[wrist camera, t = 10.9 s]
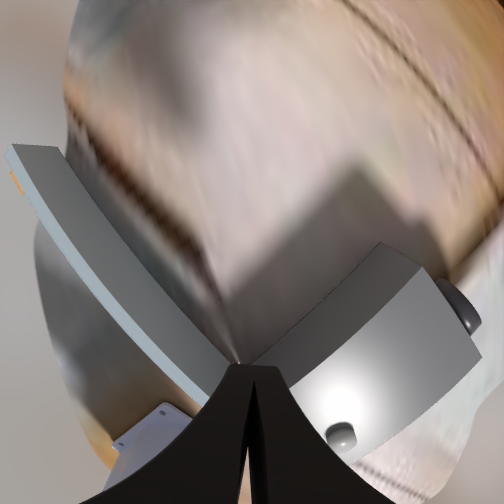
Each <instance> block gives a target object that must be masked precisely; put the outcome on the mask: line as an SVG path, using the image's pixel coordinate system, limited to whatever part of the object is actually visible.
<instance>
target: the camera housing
mask: <svg viewBox="0 0 504 504" xmlns="http://www.w3.org/2000/svg"><path fill="white" fill-rule="evenodd" d="M481 323H482V321H481V318H480V316H479V314H478V313H477V311H476V310H475V308H474V307H473V305H472V304H471V303H470V302H469V300H468V299H467V298H466V297H465V296H464V295H463V294H462V293H461V292H460V291H459V290H458V289H457V288H456V287H455V286H454V285H453V284H451V283H450V282H449V281H447V280H446V279H444V278H442V277H439V278H438V279H437V280H436V281H435V283H434V282H433V280H432V279H431V278H430V276H429V275H428V273H427V272H426V271H425V269H424V268H423V267H422V266H421V265H419V264H417V263H416V262H414V261H412V260H411V259H409V258H407V257H406V256H404V255H402V254H401V253H399V252H397V251H396V250H394V249H392V248H390V247H389V246H387V245H385V244H383V243H382V242H380V243H379V245H378V246H377V247H376V248H375V249H374V250H373V251H372V252H371V253H370V254H369V255H368V256H367V257H366V258H365V259H364V260H363V261H362V262H361V263H360V264H359V265H358V266H357V267H356V268H355V269H354V270H353V271H352V272H351V273H350V274H349V275H348V276H347V277H346V278H345V279H344V280H343V281H342V282H341V283H340V284H339V285H338V286H337V287H336V288H335V289H334V290H333V291H332V292H331V293H330V294H329V295H328V296H327V297H326V298H325V299H323V300H322V301H321V302H320V303H319V304H318V305H317V306H316V307H315V308H314V309H313V310H312V311H311V312H310V313H309V314H307V315H306V316H305V317H304V318H303V319H302V320H301V321H300V322H299V323H298V324H296V325H295V326H294V327H293V328H292V329H291V330H290V331H289V332H288V333H286V334H285V335H284V336H283V337H282V338H281V339H280V340H279V341H277V342H276V343H275V344H274V345H273V346H272V347H270V348H269V349H268V350H267V351H266V352H265V353H263V354H262V355H261V356H260V357H259V358H258V359H256V360H255V361H254V362H253V363H252V364H250V365H260V366H277V367H278V369H279V370H280V372H281V374H282V376H283V378H284V380H285V382H286V384H287V386H288V388H289V390H290V392H291V393H292V395H293V397H294V398H295V400H296V402H297V403H298V405H299V406H300V408H301V409H302V411H303V412H304V414H305V415H306V417H307V418H308V420H309V421H310V423H311V424H312V425H313V427H314V428H315V429H316V431H317V432H318V433H319V434H320V436H321V437H322V438H323V439H324V440H325V442H326V443H327V444H328V445H329V446H330V447H331V449H332V450H333V451H334V452H335V453H336V454H337V455H338V456H339V457H340V458H341V459H342V460H343V461H344V462H345V463H346V464H347V465H348V466H350V465H351V464H353V463H355V462H356V461H358V460H359V459H361V458H363V457H364V456H366V455H367V454H369V453H370V452H372V451H373V450H375V449H376V448H378V447H379V446H381V445H382V444H384V443H385V442H387V441H388V440H389V439H391V438H392V437H394V436H395V435H396V434H398V433H399V432H400V431H402V430H403V429H404V428H406V427H407V426H408V425H410V424H411V423H412V422H413V421H415V420H416V419H417V418H418V417H420V416H421V415H422V414H423V413H425V412H426V411H427V410H428V409H429V408H430V407H432V406H433V405H434V404H435V403H436V402H437V401H439V400H440V399H441V398H442V397H443V396H444V395H445V394H446V393H447V392H448V391H450V390H451V389H452V388H453V387H454V386H455V385H456V384H457V383H458V382H459V381H460V380H461V379H462V378H463V377H464V376H465V375H466V374H467V373H468V372H469V371H470V370H471V369H472V368H473V367H474V366H475V365H476V364H477V363H478V362H479V361H480V359H481V358H482V356H481V354H480V353H479V351H478V349H477V347H476V346H475V344H474V342H473V341H472V339H471V337H470V336H471V335H472V334H473V333H474V332H475V331H476V329H477V328H478V327H479V326H480V325H481Z"/></svg>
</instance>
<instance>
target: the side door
mask: <svg viewBox="0 0 504 504" xmlns="http://www.w3.org/2000/svg"><path fill="white" fill-rule="evenodd" d="M4 156H5V158H6V160H7V162H8V164H9V166H10V168H11V170H12V171H11V172H10V173H11V175H12V177H13V179H14V181H15V183H16V184H17V186H18V188H19V190H20V192H21V193H22V194H25V195H26V197H27V199H28V200H29V202H30V204H31V206H32V207H33V209H34V210H35V212H36V214H37V215H38V217H39V219H40V220H41V222H42V223H43V225H44V226H45V228H46V229H47V231H48V232H49V234H50V235H51V237H52V238H53V240H54V241H55V243H56V244H57V246H58V247H59V249H60V250H61V252H62V253H63V254H64V256H65V257H66V259H67V260H68V261H69V263H70V264H71V266H72V267H73V268H74V270H75V271H76V272H77V274H78V275H79V276H80V278H81V279H82V280H83V281H84V283H85V284H86V285H87V287H88V288H89V289H90V290H91V292H92V293H93V294H94V295H95V297H96V298H97V299H98V300H99V302H100V303H101V304H102V305H103V306H104V308H105V309H106V310H107V311H108V312H109V314H110V315H111V316H112V317H113V318H114V319H115V321H116V322H117V323H118V324H119V325H120V326H121V327H122V328H123V330H124V331H125V332H126V333H127V334H128V335H129V336H130V337H131V338H132V340H133V341H134V342H135V343H136V344H137V345H138V346H139V347H140V348H141V349H142V350H143V351H144V352H145V353H146V354H147V355H148V356H149V357H150V359H151V360H152V361H153V362H154V363H155V364H156V365H157V366H158V367H159V368H160V369H161V370H162V371H163V372H164V373H165V374H167V375H168V376H169V377H170V378H171V379H172V380H173V381H174V382H175V383H176V384H177V385H178V386H179V387H180V388H181V389H182V390H183V391H184V392H186V393H187V394H188V395H189V396H190V397H191V398H192V399H193V400H194V401H196V402H197V403H198V404H199V405H200V406H201V407H202V408H203V406H204V405H205V403H206V402H207V401H208V399H209V398H210V397H211V395H212V394H213V393H214V391H215V389H216V388H217V386H218V385H219V383H220V381H221V380H222V378H223V376H224V374H225V372H226V370H227V367H228V366H229V365H231V363H230V362H229V361H228V360H227V359H226V358H225V357H224V356H223V355H222V354H221V353H220V352H219V351H218V350H217V349H216V347H215V346H214V345H213V344H212V343H211V342H210V341H209V340H208V339H207V338H206V337H205V336H204V335H203V334H202V333H201V332H200V330H199V329H198V328H197V327H196V326H195V325H194V324H193V323H192V322H191V321H190V320H189V318H188V317H187V316H186V315H185V314H184V313H183V312H182V311H181V309H180V308H179V307H178V306H177V305H176V304H175V303H174V301H173V300H172V299H171V298H170V297H169V296H168V295H167V293H166V292H165V291H164V290H163V289H162V288H161V286H160V285H159V284H158V283H157V282H156V280H155V279H154V278H153V277H152V276H151V274H150V273H149V272H148V271H147V270H146V268H145V267H144V266H143V265H142V263H141V262H140V261H139V260H138V259H137V257H136V256H135V255H134V254H133V252H132V251H131V250H130V248H129V247H128V246H127V245H126V243H125V242H124V241H123V240H122V238H121V237H120V236H119V234H118V233H117V232H116V230H115V229H114V228H113V226H112V225H111V224H110V222H109V221H108V220H107V218H106V217H105V216H104V214H103V213H102V212H101V210H100V209H99V207H98V206H97V205H96V203H95V202H94V201H93V199H92V198H91V196H90V195H89V194H88V192H87V191H86V189H85V188H84V186H83V185H82V183H81V182H80V181H79V179H78V178H77V176H76V175H75V173H74V172H73V170H72V169H71V167H70V166H69V164H68V163H67V161H66V160H65V158H64V157H63V155H62V153H61V152H60V150H59V149H58V147H51V146H39V145H23V144H22V145H21V144H11V145H10V147H9V149H8V150H7V152H6V153H5V155H4Z"/></svg>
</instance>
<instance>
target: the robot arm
mask: <svg viewBox="0 0 504 504" xmlns="http://www.w3.org/2000/svg"><path fill="white" fill-rule="evenodd" d="M163 411H164V412H163ZM112 447H113V448H114V449H115V450H117V451H118V452H120V454H119V456H118V458H117V460H116V462H115V465H114V467H113V469H112V471H111V474H110V476H109V478H108V480H107V482H106V485H105V487H104V489H103V491H102V492H101V493H99V494H97V495H96V496H94V497H92V498H90V499H88V500H86V501H84V502H82V503H79V504H238V500H239V495H240V489H241V484H242V478H243V472H244V466H245V461H246V455H247V449H248V454H249V470H250V485H251V499H252V504H396V503H394V502H393V501H391V500H390V499H389V498H387V497H386V496H384V495H383V494H382V493H380V492H379V491H377V490H376V489H375V488H373V487H372V486H371V485H369V484H368V483H367V482H366V481H364V480H363V479H362V478H361V477H360V476H359V475H358V474H357V473H355V472H354V471H353V470H352V469H351V468H350V467H349V466H348V465H347V464H346V463H345V462H344V461H343V460H342V459H341V458H340V457H339V456H338V455H337V454H336V453H335V452H334V451H333V450H332V449H331V447H330V446H329V445H328V444H327V443H326V442H325V440H324V439H323V438H322V437H321V436H320V434H319V433H318V432H317V431H316V429H315V428H314V427H313V425H312V424H311V423H310V421H309V420H308V418H307V417H306V415H305V414H304V412H303V411H302V409H301V408H300V406H299V405H298V403H297V402H296V400H295V398H294V397H293V395H292V393H291V392H290V390H289V388H288V386H287V384H286V382H285V380H284V378H283V376H282V374H281V372H280V370H279V369H278V367H277V366H260V365H245V364H231V365H229V366H228V367H227V370H226V372H225V374H224V376H223V378H222V380H221V381H220V383H219V385H218V386H217V388H216V389H215V391H214V393H213V394H212V395H211V397H210V398H209V399H208V401H207V402H206V403H205V405H204V406H203V408H202V409H201V410H200V411H199V413H198V414H197V415H196V416H195V417H194V418H193V419H192V418H191V417H189V416H188V415H186V414H185V413H183V412H182V411H180V410H179V409H177V408H176V407H174V406H173V405H171V404H170V403H167V402H164V403H162V404H160V405H159V406H158V407H157V408H156V409H154V410H153V411H152V412H151V413H149V414H148V415H147V416H146V417H145V418H143V419H142V420H141V421H140V422H138V423H137V424H136V425H135V426H133V427H132V428H131V429H129V430H128V431H127V432H126V433H124V434H123V435H122V436H121V437H119V438H118V439H117V440H115V441H114V442H113V444H112Z"/></svg>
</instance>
